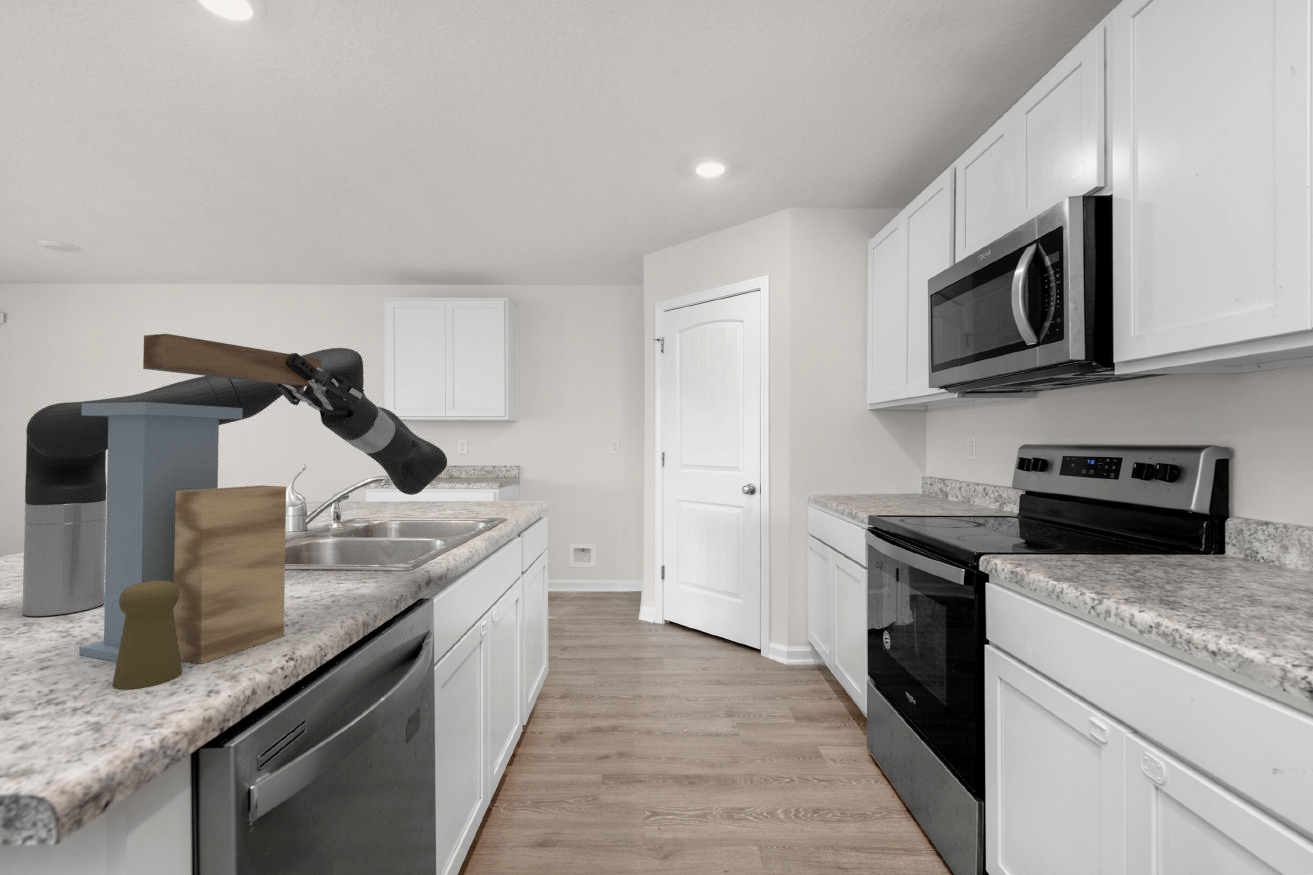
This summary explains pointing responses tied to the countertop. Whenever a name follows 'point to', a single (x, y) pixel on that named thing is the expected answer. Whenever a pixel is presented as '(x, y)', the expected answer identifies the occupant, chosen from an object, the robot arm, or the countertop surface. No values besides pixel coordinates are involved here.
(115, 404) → the blue grey stand
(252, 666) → the countertop surface
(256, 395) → the robot arm
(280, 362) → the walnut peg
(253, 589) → the oak post
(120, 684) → the cork
